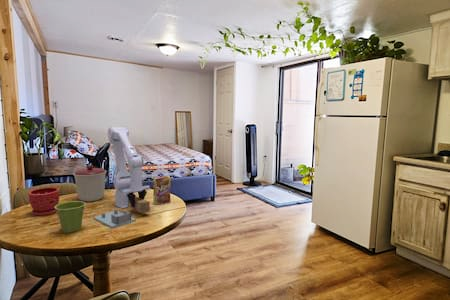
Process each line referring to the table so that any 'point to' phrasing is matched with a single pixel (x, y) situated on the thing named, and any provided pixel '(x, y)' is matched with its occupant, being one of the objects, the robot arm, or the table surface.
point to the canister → (90, 183)
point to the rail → (140, 205)
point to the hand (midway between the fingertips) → (137, 205)
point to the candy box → (161, 190)
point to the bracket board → (115, 218)
